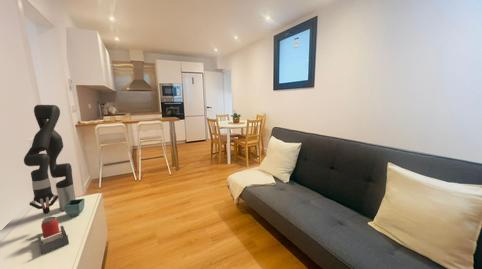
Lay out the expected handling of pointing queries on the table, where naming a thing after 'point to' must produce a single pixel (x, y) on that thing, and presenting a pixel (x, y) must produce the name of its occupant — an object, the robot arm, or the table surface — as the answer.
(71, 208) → the flower pot
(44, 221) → the beer can
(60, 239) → the lane
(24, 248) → the table surface
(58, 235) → the pusher
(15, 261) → the table surface
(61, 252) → the table surface
